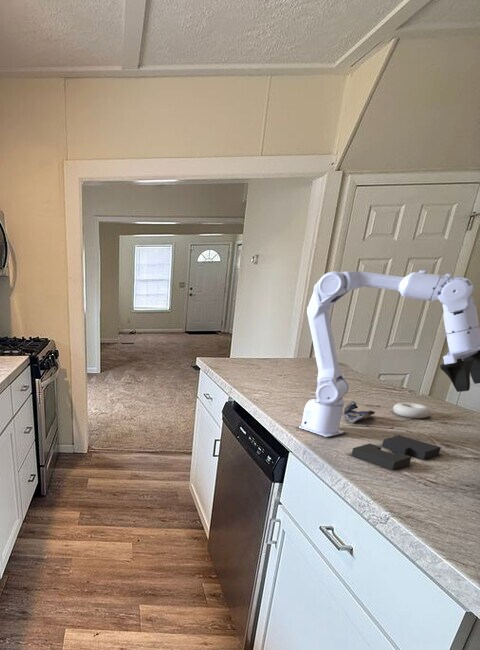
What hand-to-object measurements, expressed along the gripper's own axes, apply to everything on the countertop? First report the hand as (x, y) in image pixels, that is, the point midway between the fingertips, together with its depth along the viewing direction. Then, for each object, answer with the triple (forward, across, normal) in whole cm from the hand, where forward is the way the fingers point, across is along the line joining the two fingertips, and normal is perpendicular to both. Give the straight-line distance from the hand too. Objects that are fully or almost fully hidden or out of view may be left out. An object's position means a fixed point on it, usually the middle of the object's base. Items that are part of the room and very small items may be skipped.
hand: (472, 386), depth 94 cm
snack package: (+8, +8, +34) cm, 36 cm away
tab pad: (+14, -6, +12) cm, 19 cm away
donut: (+12, +26, +29) cm, 41 cm away
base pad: (+12, -19, +12) cm, 26 cm away
